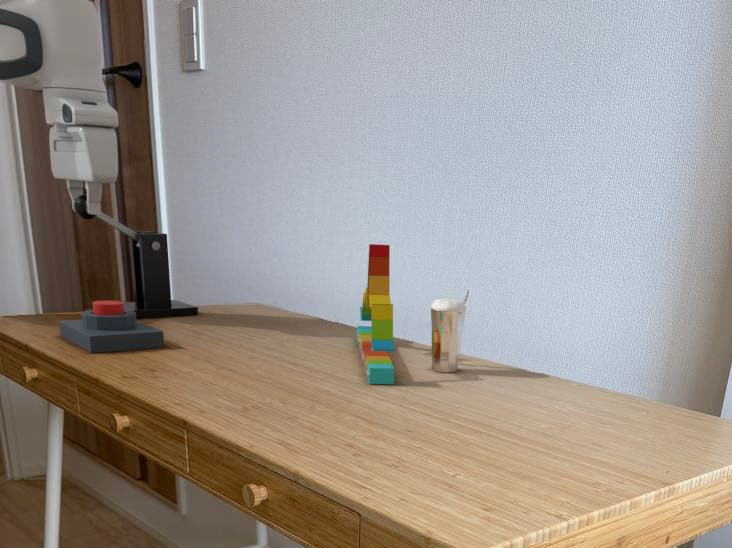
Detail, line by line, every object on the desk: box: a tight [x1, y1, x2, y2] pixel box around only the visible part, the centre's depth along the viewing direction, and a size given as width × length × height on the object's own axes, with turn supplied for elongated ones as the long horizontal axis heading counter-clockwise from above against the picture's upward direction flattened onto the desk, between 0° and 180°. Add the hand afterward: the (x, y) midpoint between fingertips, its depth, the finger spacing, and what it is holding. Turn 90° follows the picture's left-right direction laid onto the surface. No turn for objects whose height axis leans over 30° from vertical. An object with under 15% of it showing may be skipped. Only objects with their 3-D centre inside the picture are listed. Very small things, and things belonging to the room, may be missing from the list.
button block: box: [58, 309, 165, 354], centre depth 115 cm, size 13×10×4 cm
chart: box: [355, 243, 396, 385], centre depth 111 cm, size 30×3×15 cm, turn 6°
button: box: [92, 300, 124, 315], centre depth 114 cm, size 4×4×2 cm
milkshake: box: [430, 290, 471, 373], centre depth 107 cm, size 4×5×10 cm
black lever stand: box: [123, 231, 199, 320], centre depth 138 cm, size 12×9×13 cm
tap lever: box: [74, 194, 140, 248], centre depth 132 cm, size 14×4×4 cm
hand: (86, 213), depth 129 cm, fingers open, 5 cm apart
